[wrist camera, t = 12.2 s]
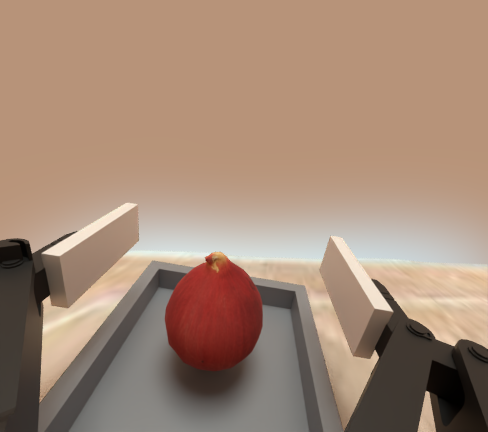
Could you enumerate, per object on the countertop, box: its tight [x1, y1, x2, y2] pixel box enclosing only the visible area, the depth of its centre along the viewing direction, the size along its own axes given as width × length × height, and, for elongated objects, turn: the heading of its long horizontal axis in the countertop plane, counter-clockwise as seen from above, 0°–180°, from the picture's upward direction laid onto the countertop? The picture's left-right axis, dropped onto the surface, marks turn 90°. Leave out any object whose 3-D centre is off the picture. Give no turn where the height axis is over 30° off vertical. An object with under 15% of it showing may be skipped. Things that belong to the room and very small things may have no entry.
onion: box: [165, 252, 263, 371], centre depth 14 cm, size 6×6×8 cm
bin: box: [38, 261, 343, 432], centre depth 16 cm, size 14×14×3 cm
